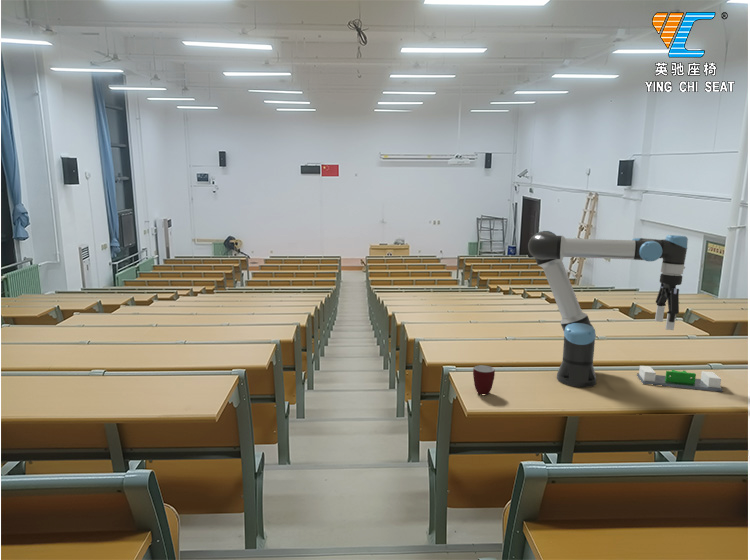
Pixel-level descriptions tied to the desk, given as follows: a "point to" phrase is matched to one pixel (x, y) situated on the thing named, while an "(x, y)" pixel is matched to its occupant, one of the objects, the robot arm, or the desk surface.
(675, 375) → the pipe clamp
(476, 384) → the mug
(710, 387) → the mounting rail
